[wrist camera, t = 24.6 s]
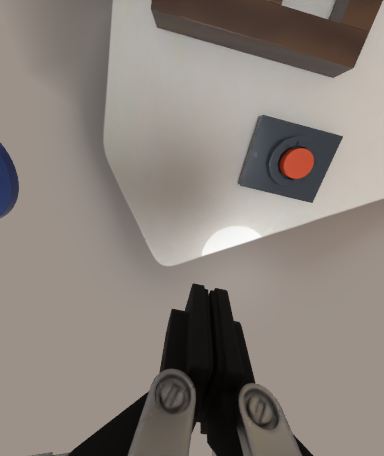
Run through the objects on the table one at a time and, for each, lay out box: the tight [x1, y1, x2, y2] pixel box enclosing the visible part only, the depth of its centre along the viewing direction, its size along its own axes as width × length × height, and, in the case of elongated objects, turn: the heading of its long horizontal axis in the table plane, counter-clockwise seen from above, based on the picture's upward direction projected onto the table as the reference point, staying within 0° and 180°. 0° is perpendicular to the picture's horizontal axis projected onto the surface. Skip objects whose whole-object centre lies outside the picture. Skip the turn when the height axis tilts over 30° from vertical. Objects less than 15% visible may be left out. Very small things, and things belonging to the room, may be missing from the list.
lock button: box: [279, 148, 314, 179], centre depth 29 cm, size 4×4×2 cm
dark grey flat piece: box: [238, 115, 343, 203], centre depth 31 cm, size 12×10×4 cm
